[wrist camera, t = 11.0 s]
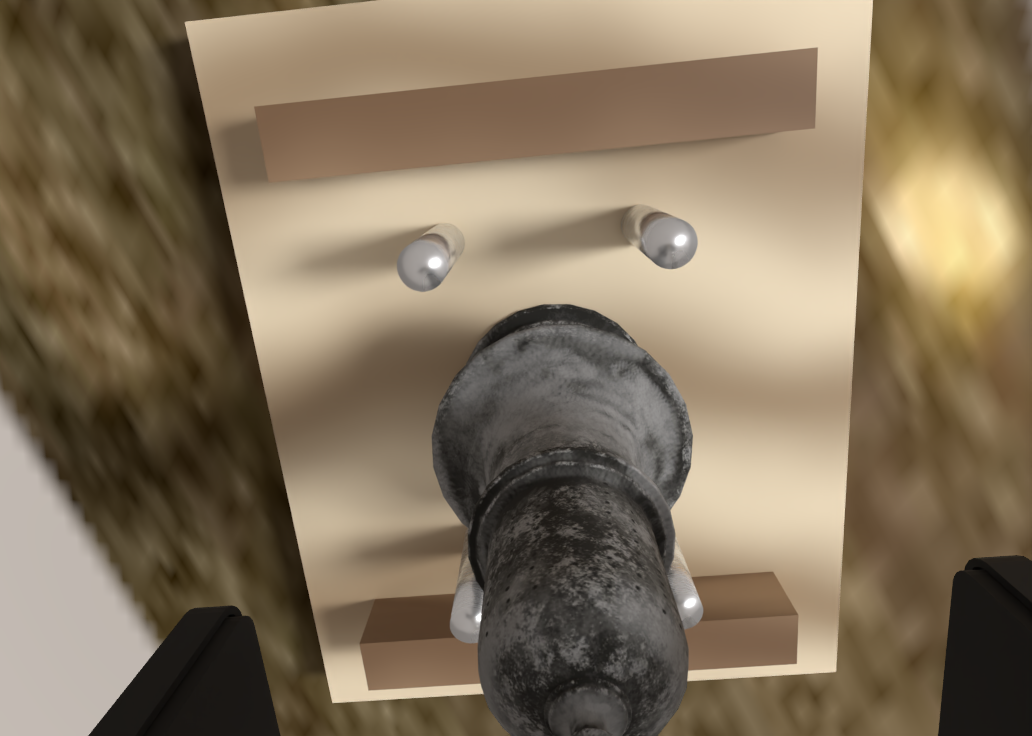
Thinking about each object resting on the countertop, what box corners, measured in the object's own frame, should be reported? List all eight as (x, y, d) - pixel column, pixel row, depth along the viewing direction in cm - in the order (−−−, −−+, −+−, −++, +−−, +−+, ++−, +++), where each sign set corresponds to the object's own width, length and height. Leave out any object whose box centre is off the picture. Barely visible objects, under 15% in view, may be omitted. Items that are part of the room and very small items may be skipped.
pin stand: (816, 639, 23) (903, 785, 17) (344, 669, 23) (290, 818, 18) (846, -37, 17) (991, -127, 11) (213, 33, 17) (76, -21, 12)
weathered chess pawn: (682, 306, 18) (955, 581, 6) (643, 504, 20) (801, 1000, 8) (459, 279, 18) (326, 508, 6) (440, 481, 19) (310, 947, 8)
